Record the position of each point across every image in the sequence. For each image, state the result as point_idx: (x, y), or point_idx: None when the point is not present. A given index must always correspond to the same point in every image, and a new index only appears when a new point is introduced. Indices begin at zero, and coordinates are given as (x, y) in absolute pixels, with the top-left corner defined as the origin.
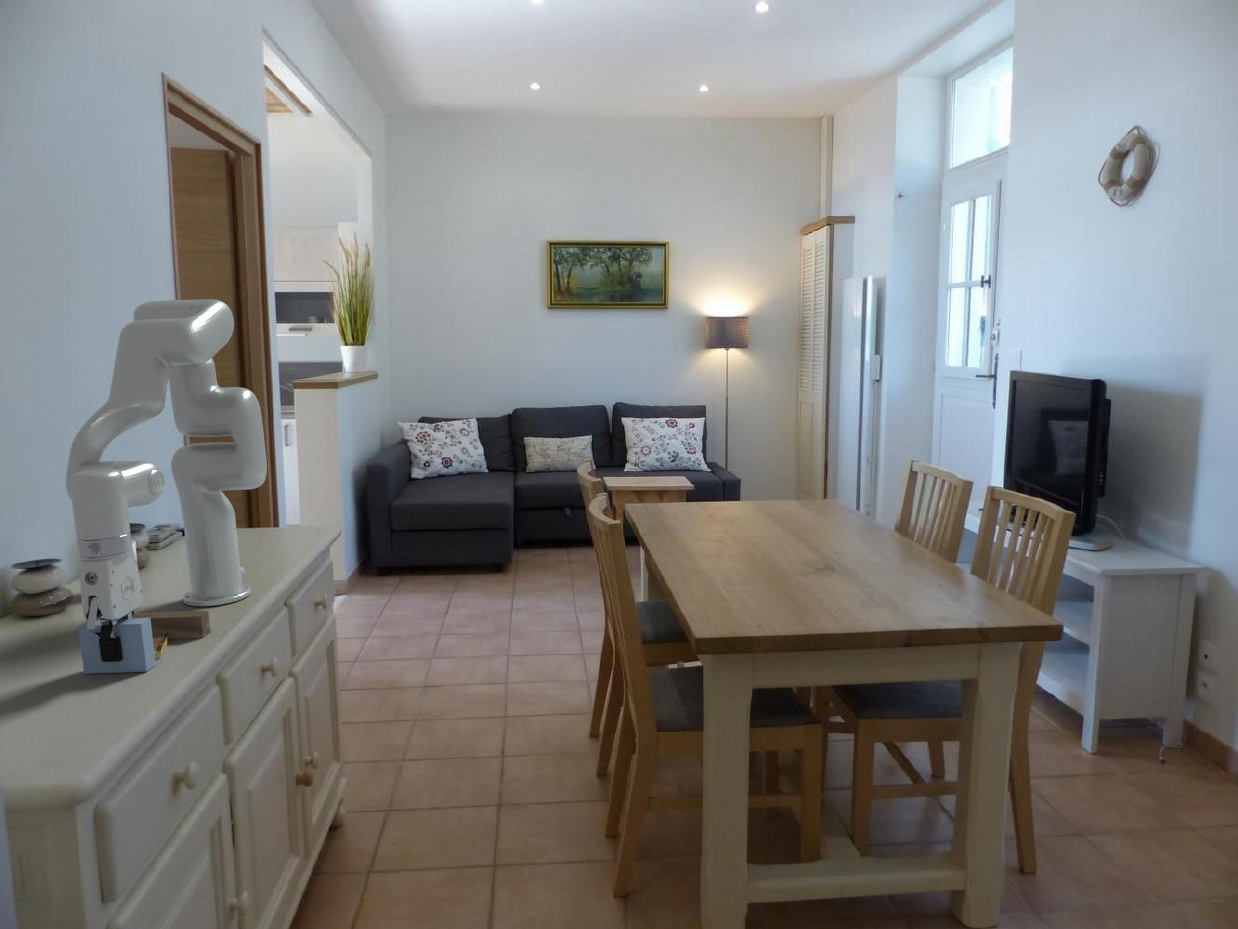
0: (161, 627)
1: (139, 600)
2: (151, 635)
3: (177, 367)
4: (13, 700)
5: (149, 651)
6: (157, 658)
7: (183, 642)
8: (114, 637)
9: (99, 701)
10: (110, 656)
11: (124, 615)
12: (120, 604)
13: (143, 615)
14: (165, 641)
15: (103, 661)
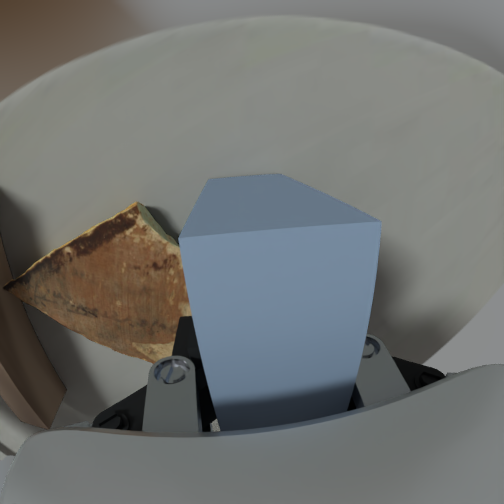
0: (1, 315)
1: (77, 476)
2: (209, 198)
3: None
4: None
5: (249, 183)
6: (147, 211)
7: (18, 219)
8: (370, 336)
9: (455, 203)
10: None
11: (406, 396)
12: (501, 463)
13: (1, 383)
14: (47, 255)
15: None
